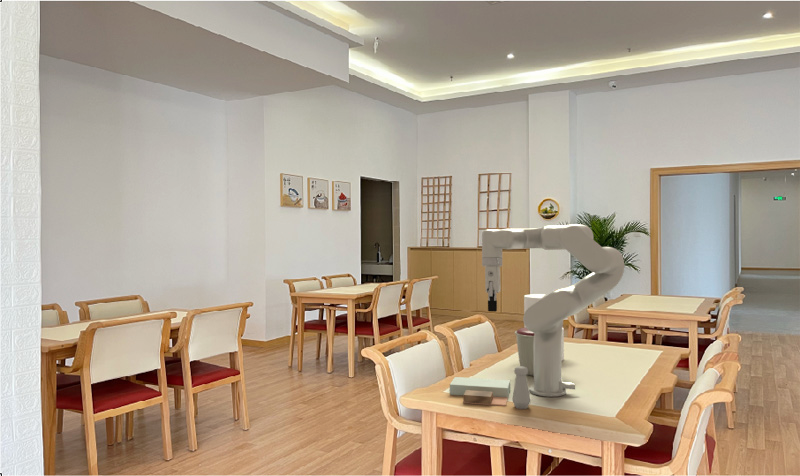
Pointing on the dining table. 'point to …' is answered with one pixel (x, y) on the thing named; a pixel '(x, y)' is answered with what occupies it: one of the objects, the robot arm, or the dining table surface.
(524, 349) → the canister
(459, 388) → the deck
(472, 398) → the brown wooden block
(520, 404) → the salt shaker
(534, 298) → the white tall block
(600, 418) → the dining table surface
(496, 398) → the mat
